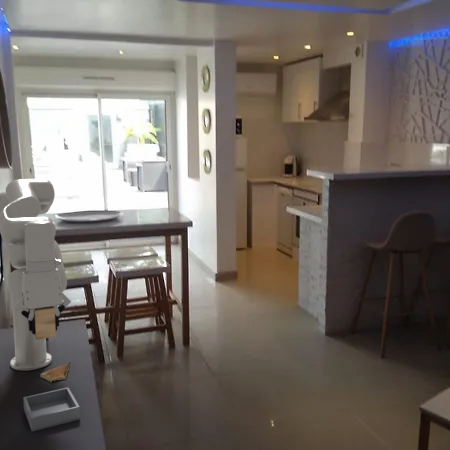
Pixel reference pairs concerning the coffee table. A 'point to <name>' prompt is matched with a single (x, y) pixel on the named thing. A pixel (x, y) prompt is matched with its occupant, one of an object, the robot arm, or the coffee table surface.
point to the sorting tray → (51, 409)
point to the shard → (56, 373)
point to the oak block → (44, 323)
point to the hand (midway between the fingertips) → (44, 330)
